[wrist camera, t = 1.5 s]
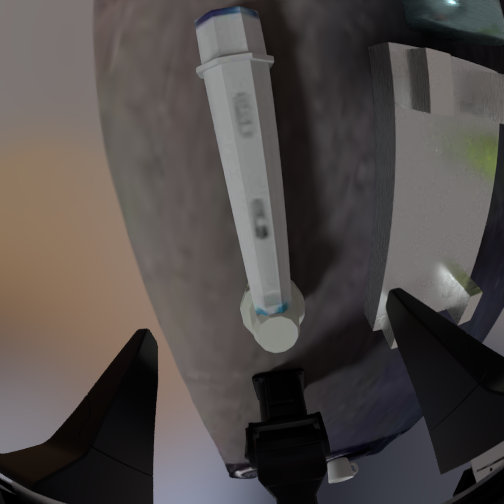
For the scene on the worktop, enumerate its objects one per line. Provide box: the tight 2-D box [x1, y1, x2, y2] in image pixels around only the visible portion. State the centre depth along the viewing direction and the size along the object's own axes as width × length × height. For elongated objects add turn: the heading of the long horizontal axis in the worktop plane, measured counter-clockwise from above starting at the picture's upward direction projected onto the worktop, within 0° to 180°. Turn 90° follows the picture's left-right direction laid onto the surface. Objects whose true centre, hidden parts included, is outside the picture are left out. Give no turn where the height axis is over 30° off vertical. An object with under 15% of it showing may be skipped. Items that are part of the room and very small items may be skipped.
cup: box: [328, 457, 358, 483], centre depth 63 cm, size 11×8×8 cm
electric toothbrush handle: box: [195, 6, 305, 353], centre depth 18 cm, size 5×7×25 cm
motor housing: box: [363, 0, 504, 349], centre depth 16 cm, size 31×12×8 cm, turn 8°
